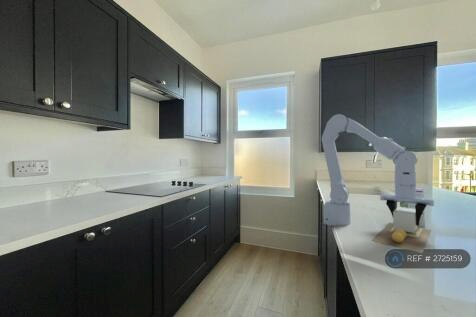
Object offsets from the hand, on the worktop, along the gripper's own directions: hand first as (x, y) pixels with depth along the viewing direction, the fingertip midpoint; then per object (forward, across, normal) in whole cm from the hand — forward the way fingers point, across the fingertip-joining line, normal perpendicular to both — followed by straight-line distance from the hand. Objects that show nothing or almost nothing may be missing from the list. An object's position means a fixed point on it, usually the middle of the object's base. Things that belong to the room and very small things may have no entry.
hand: (406, 223), depth 72 cm
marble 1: (+1, 0, -10) cm, 10 cm away
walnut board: (+4, 0, -6) cm, 7 cm away
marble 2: (+1, 0, -14) cm, 14 cm away
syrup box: (+4, 0, +13) cm, 14 cm away
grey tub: (+1, 0, 0) cm, 1 cm away
